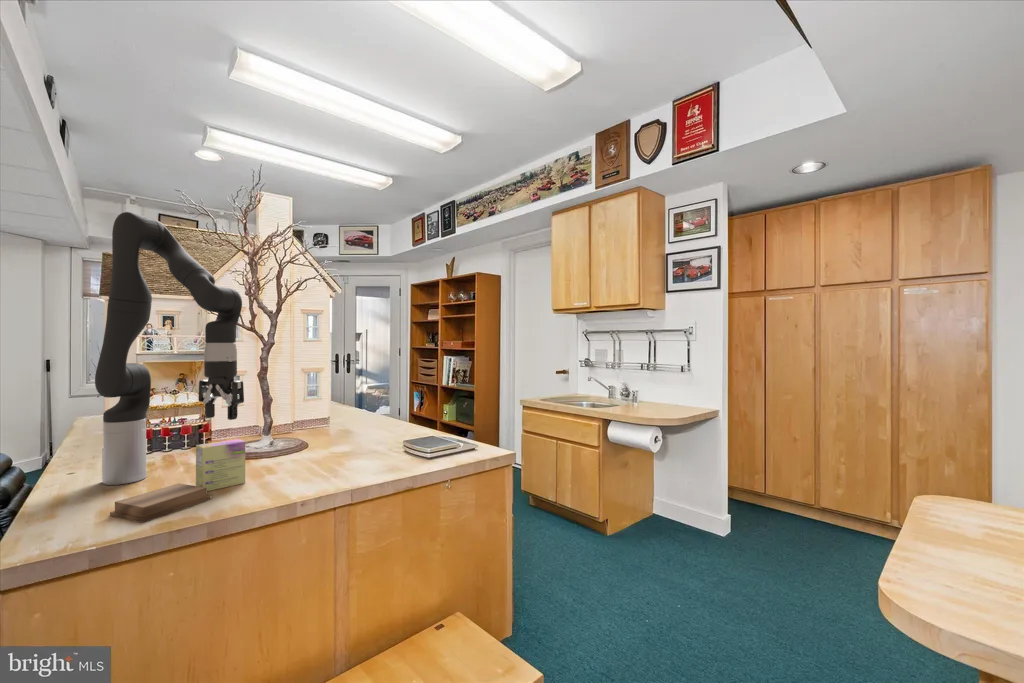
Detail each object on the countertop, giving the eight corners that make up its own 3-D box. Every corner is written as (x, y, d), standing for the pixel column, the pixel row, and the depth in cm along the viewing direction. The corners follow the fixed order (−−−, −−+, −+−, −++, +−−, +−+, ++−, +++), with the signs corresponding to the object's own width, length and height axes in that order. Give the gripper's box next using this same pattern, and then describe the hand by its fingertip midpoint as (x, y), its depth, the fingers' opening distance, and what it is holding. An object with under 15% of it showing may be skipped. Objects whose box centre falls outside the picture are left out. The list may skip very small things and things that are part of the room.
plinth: (110, 515, 100) (110, 502, 100) (180, 494, 115) (180, 482, 115) (142, 522, 97) (142, 508, 97) (210, 499, 111) (210, 487, 111)
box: (238, 479, 127) (238, 438, 127) (245, 483, 124) (245, 441, 124) (195, 488, 119) (195, 444, 119) (202, 493, 116) (202, 447, 116)
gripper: (188, 359, 120) (189, 419, 120) (226, 360, 115) (226, 422, 115) (215, 358, 127) (215, 415, 127) (252, 359, 123) (252, 417, 123)
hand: (221, 418), depth 121 cm, fingers open, 8 cm apart
